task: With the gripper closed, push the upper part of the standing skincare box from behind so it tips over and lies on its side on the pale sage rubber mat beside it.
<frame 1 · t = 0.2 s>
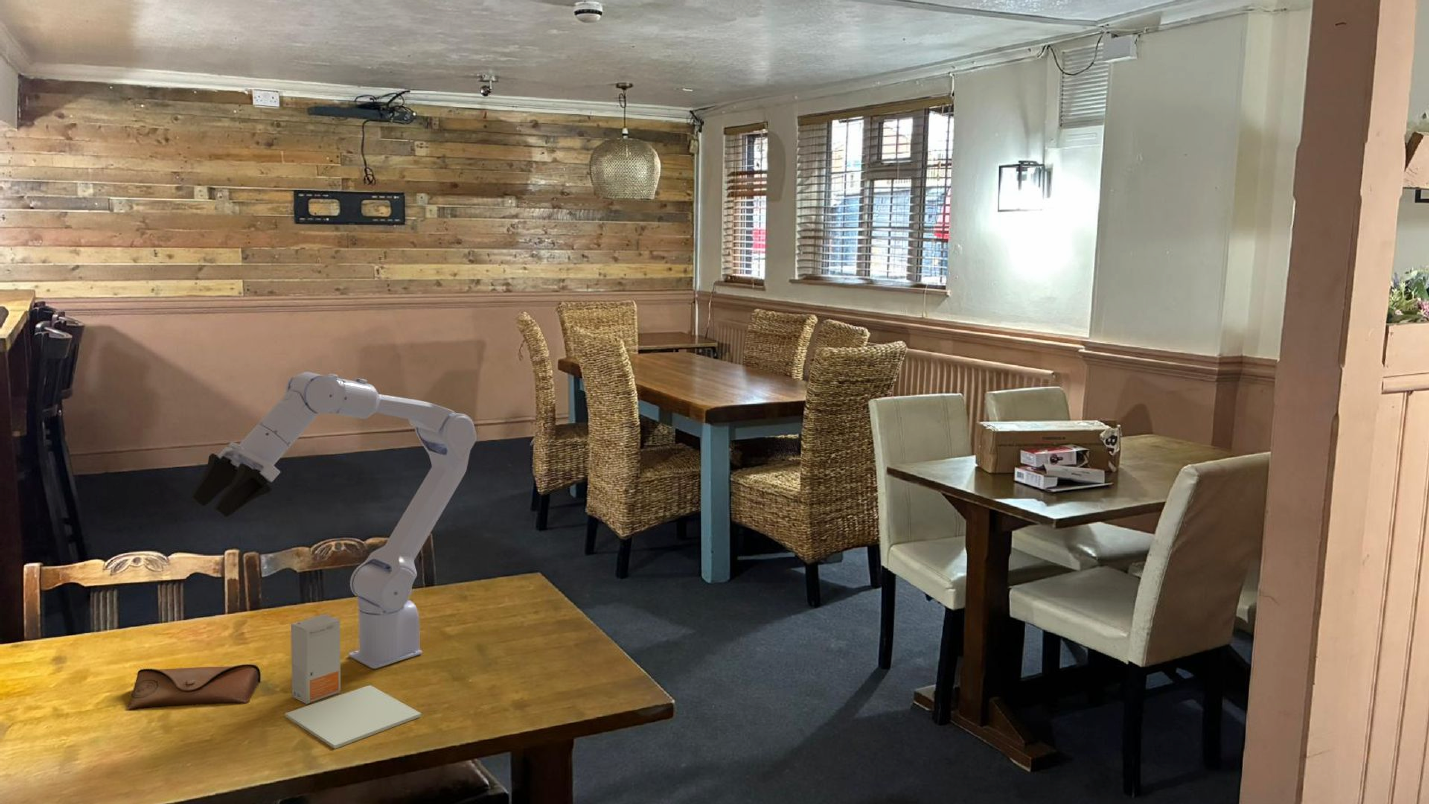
hand: (208, 507, 153), 31 cm above the table, tool tilted 45°, fingers open, 7 cm apart
skincare box: (317, 696, 163), on the table
sunglasses case: (194, 699, 161), on the table
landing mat: (353, 716, 156), on the table
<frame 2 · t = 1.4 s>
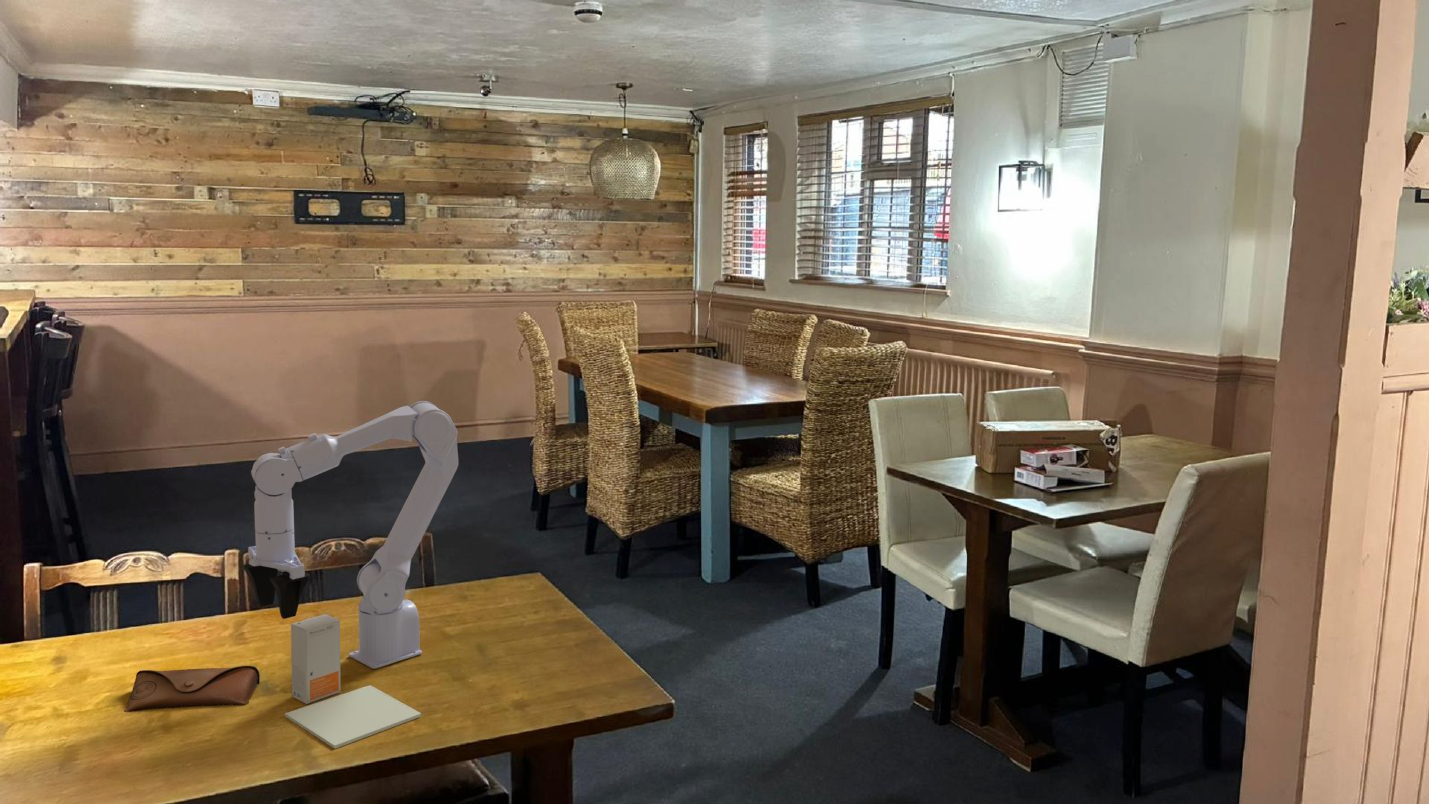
hand: (277, 610, 169), 10 cm above the table, tool pointing down, fingers open, 7 cm apart
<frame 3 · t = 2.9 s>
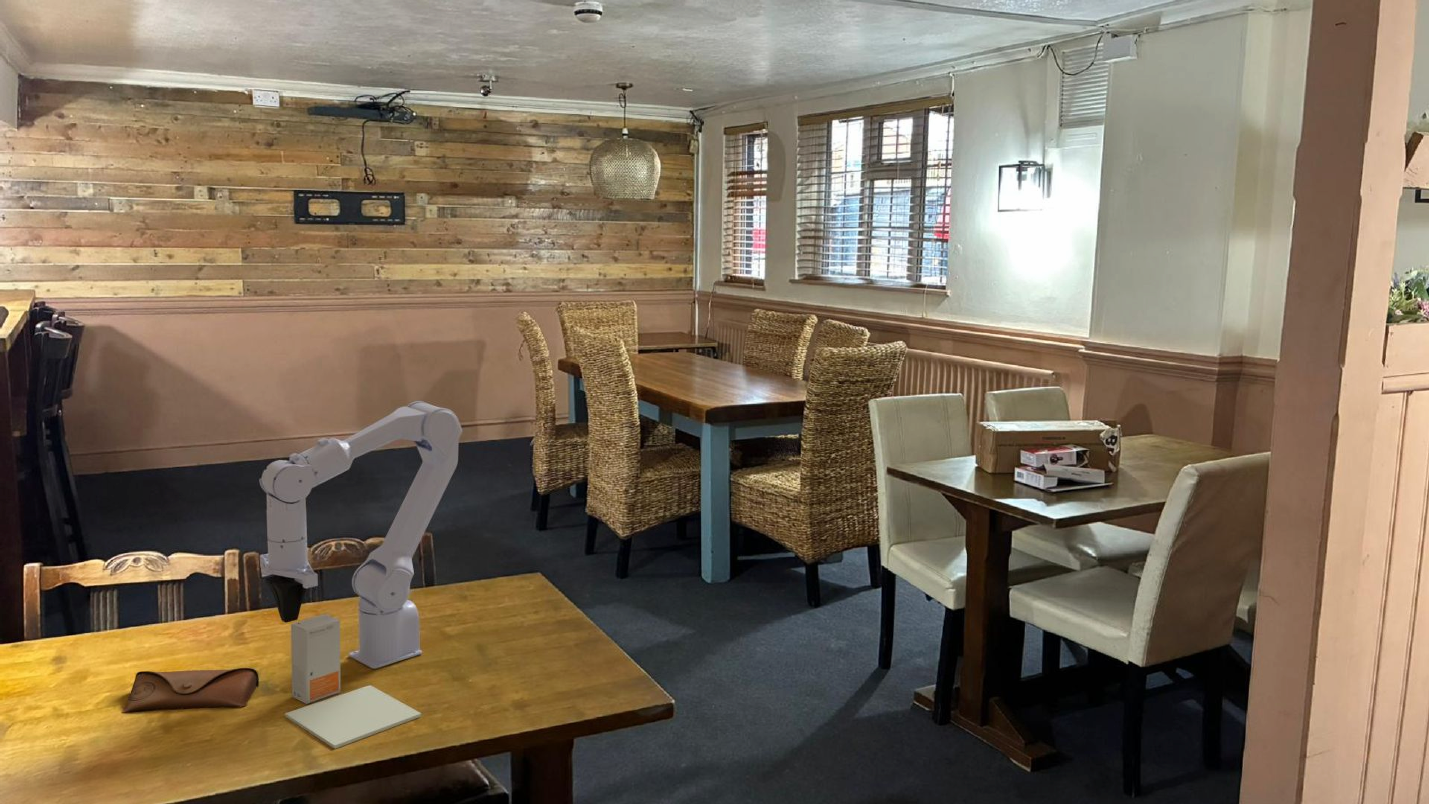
hand: (289, 620, 166), 10 cm above the table, tool pointing down, fingers closed
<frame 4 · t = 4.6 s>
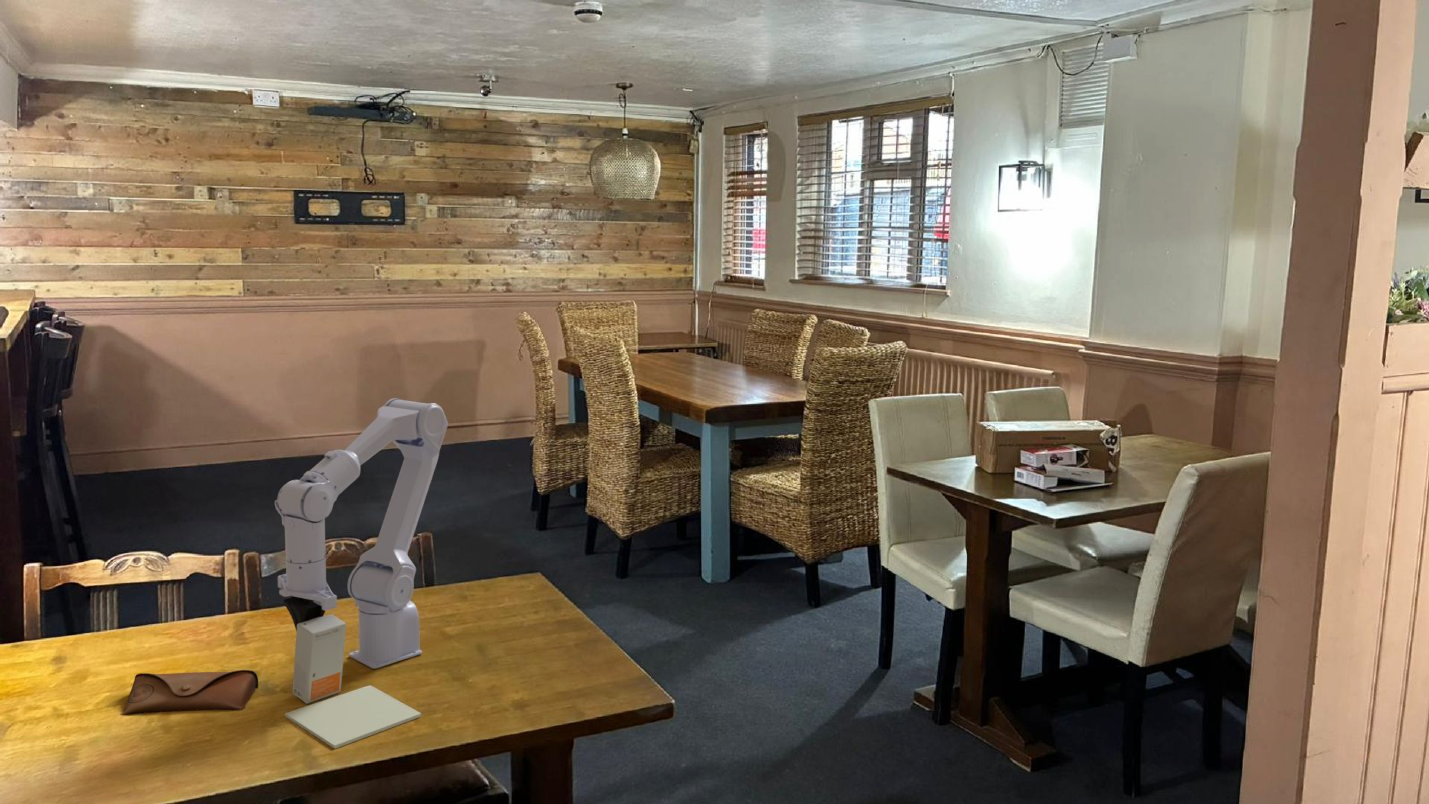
hand: (308, 642, 163), 8 cm above the table, tool pointing down, fingers closed
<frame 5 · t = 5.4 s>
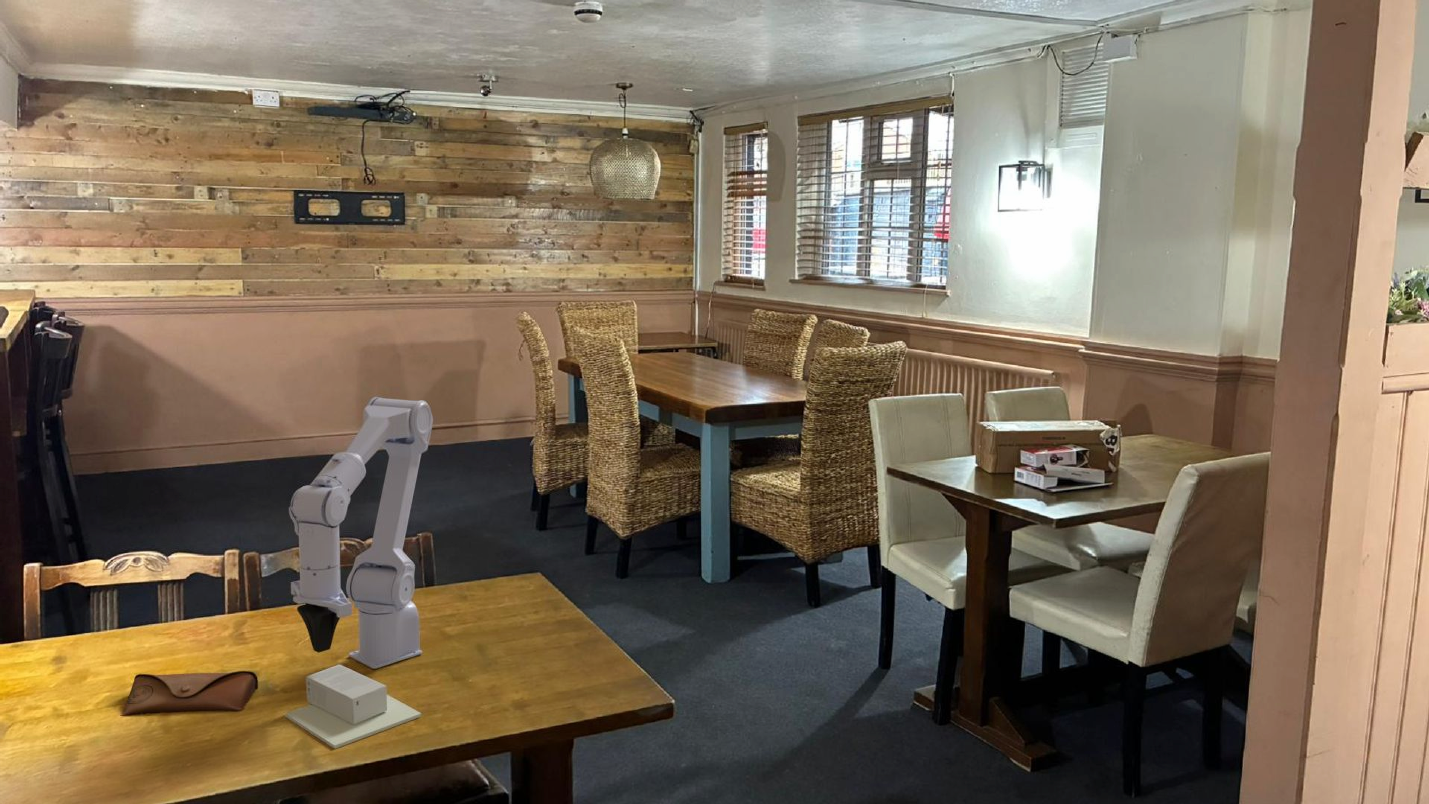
hand: (322, 649, 160), 8 cm above the table, tool pointing down, fingers closed
skincare box: (322, 682, 161), point 3 cm above the table, touching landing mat
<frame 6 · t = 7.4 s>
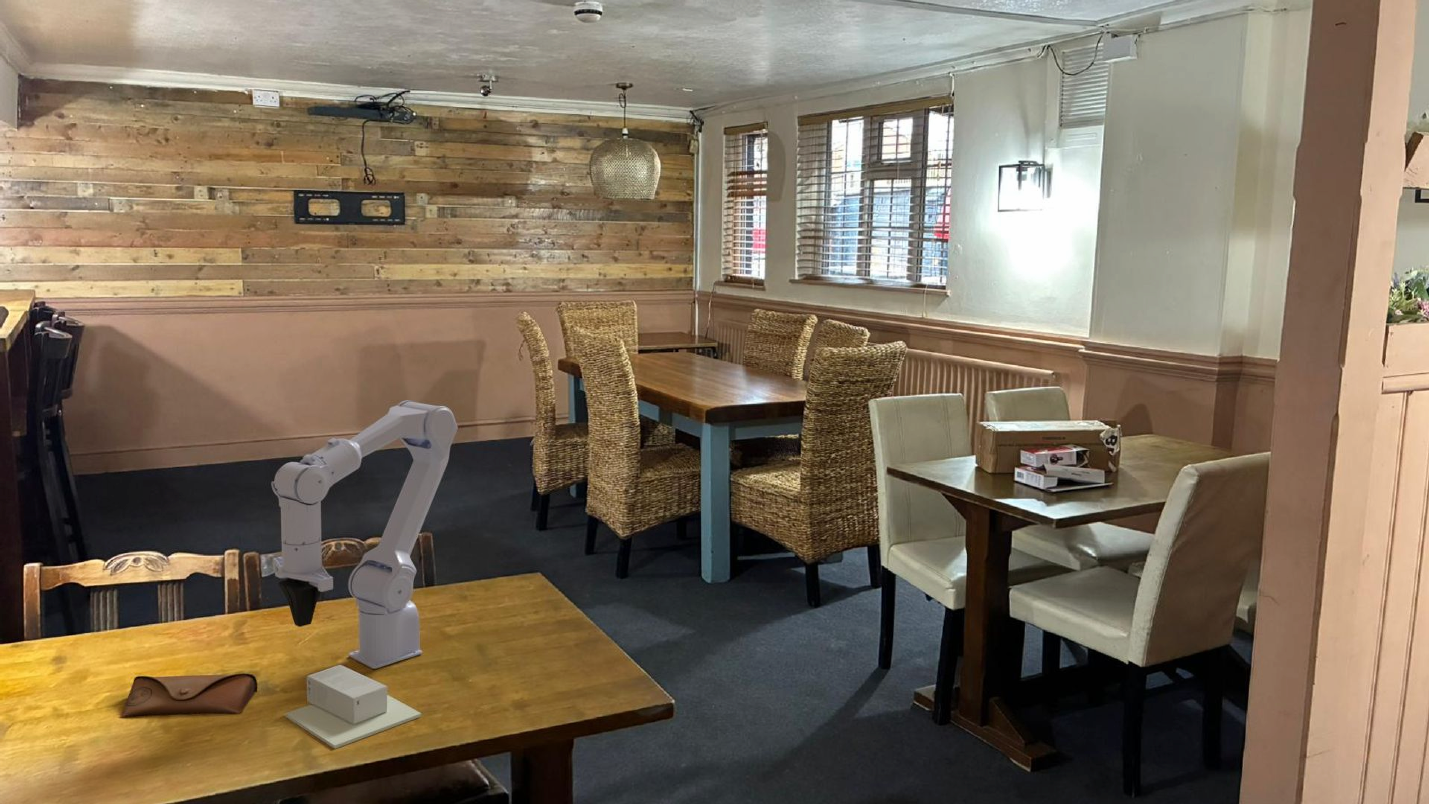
hand: (303, 624, 164), 10 cm above the table, tool pointing down, fingers closed
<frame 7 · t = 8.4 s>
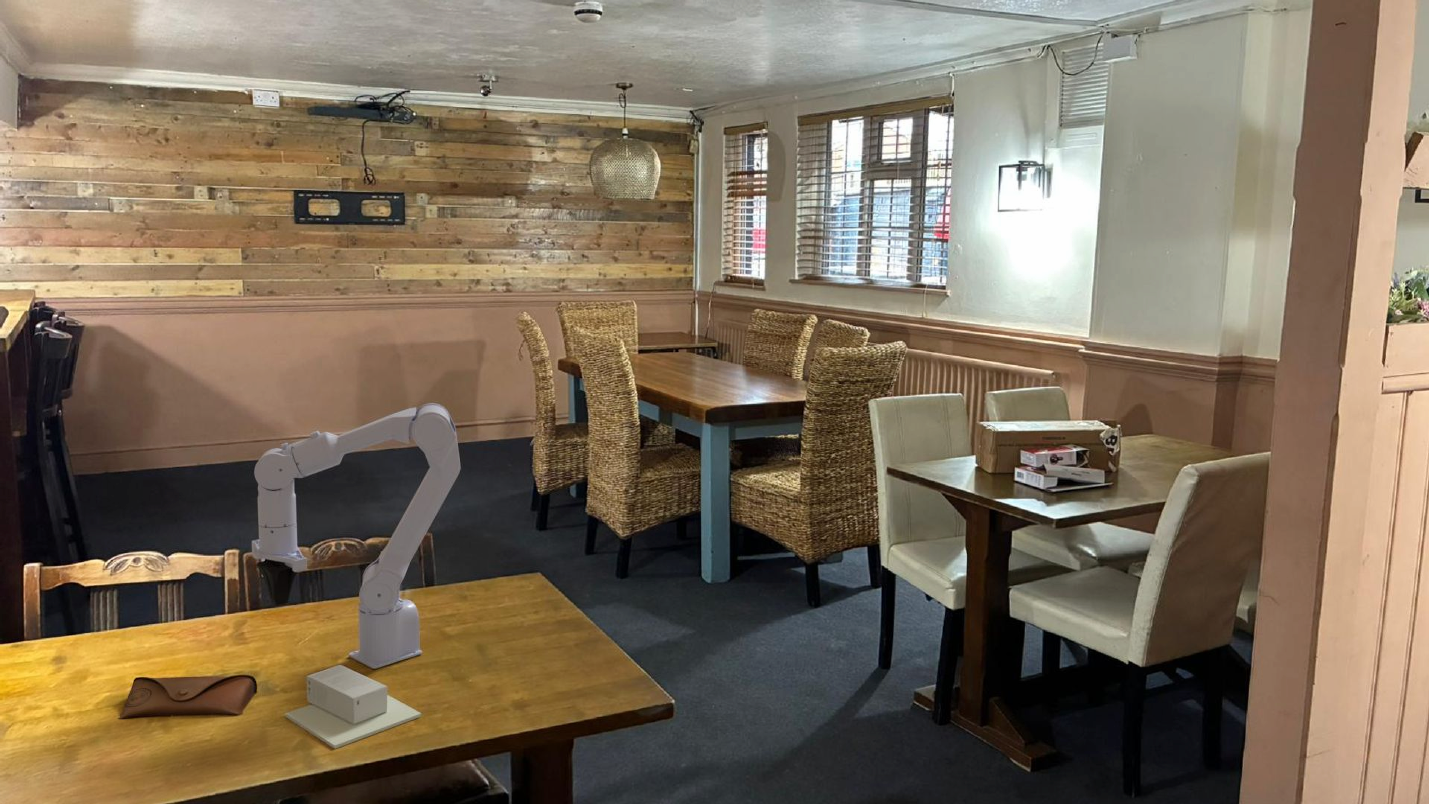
hand: (280, 603, 172), 10 cm above the table, tool pointing down, fingers closed
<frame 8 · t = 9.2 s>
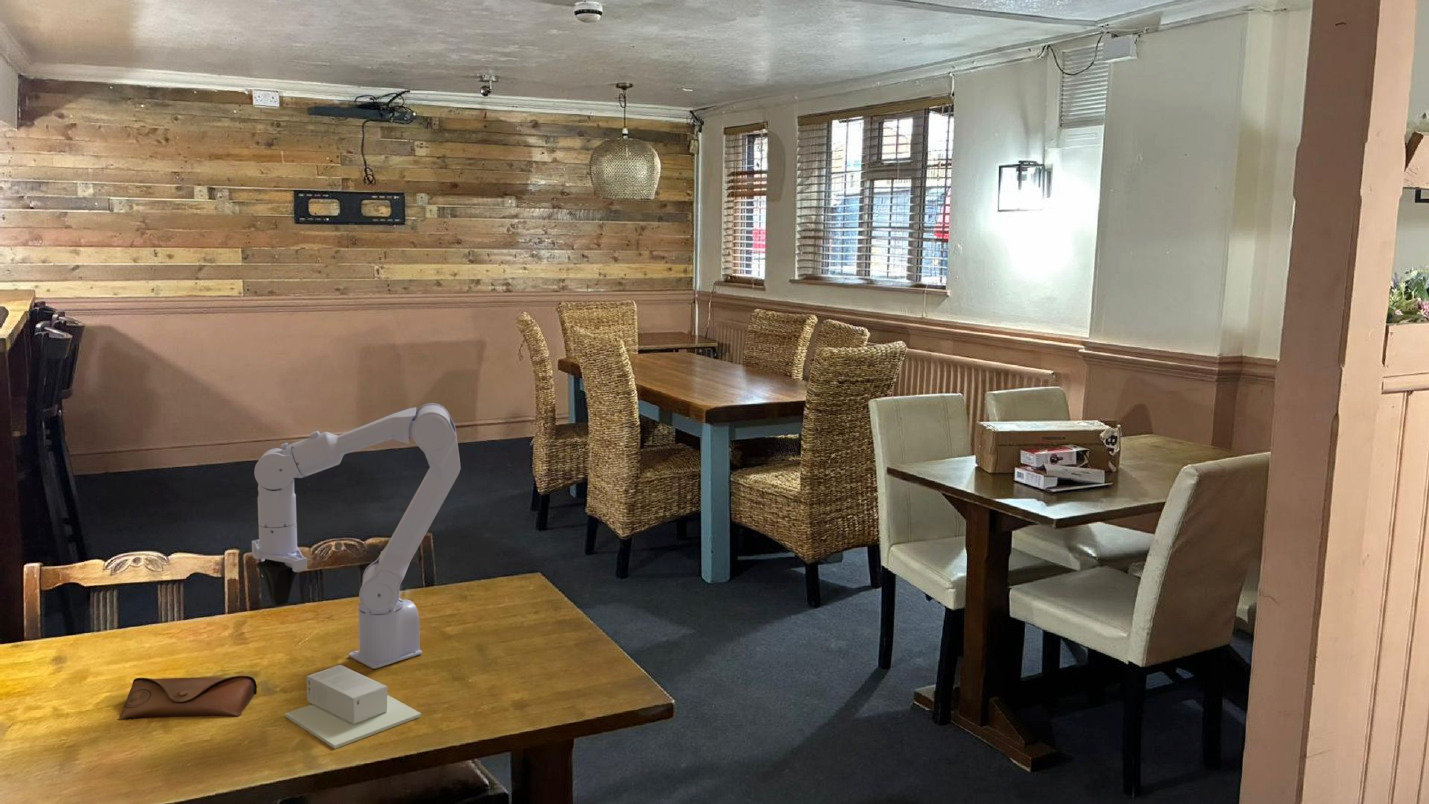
hand: (280, 603, 172), 10 cm above the table, tool pointing down, fingers closed
at the end: skincare box tilted 90°; skincare box touching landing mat; skincare box point 2.6 cm above the table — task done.
